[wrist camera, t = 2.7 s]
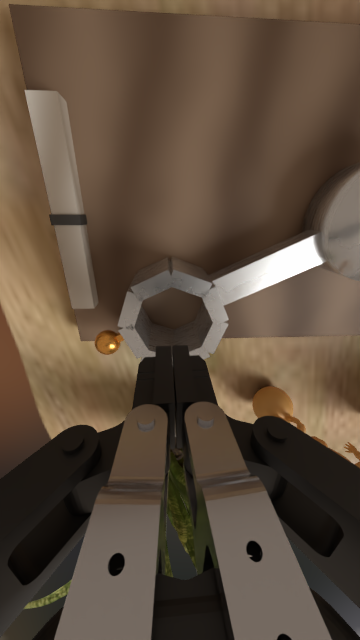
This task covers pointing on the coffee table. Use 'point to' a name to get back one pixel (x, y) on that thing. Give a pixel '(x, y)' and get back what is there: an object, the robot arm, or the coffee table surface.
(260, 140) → the stand base
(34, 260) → the coffee table surface
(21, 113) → the coffee table surface
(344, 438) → the coffee table surface
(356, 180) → the baby rattle
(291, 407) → the figurine
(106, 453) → the robot arm
